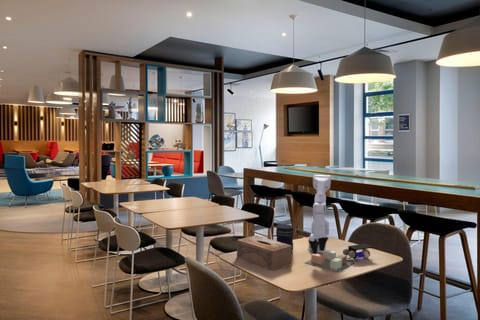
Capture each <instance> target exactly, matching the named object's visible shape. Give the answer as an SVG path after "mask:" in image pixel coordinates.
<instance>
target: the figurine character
mask: <svg viewBox="0 0 480 320" xmlns="http://www.w3.org/2000/svg"><path fill="white" fill-rule="evenodd" d="M369 249H373V246H371V245H369V244H367V243H361V244H353V245H348V247H347V248H344V249H343V250H342V255H346V256H347V260H351V261H356V259H357V260H358V259H362V258H363V259H368V258H369V257H370V256H371V252H370V251H369Z"/></svg>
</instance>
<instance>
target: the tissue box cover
mask: <svg viewBox="0 0 480 320" xmlns="http://www.w3.org/2000/svg"><path fill="white" fill-rule="evenodd" d="M292 255H293V254H292V246H291V245H288V244H284V243H281V242H277V240H273V239H271V238H267V237H264V236H260V235H252V236H248V237H244V238H239V239H238V238H237V240H236V258H237V259H239V260H243V261H245V262H248V263H251V264H254V265H255V264H256V266H259V267H261V268H263V269H266V268H267V270H269V271H272V272H274V271H275V270H278V269H282V268H284V266H285V267H288V266H291V265H292V258H293V257H292ZM290 264H291V265H290ZM287 265H288V266H287Z"/></svg>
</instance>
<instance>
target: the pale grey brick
mask: <svg viewBox="0 0 480 320" xmlns="http://www.w3.org/2000/svg"><path fill="white" fill-rule="evenodd" d="M322 254H323V255H324V256H325V259H328V260H333V259H335V258H336V257H337V252H336V251H333V250H324V251H323V253H322Z"/></svg>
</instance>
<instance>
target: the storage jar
mask: <svg viewBox="0 0 480 320" xmlns="http://www.w3.org/2000/svg"><path fill="white" fill-rule="evenodd" d="M294 231H295V230H294V225H291V224H285V223H283V224H282V223H281V224H277V225H276V229H275V235H276V241H277V242H281V243H284V244H288V245H291V246H292V255H293V253H294V233H295V232H294Z"/></svg>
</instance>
